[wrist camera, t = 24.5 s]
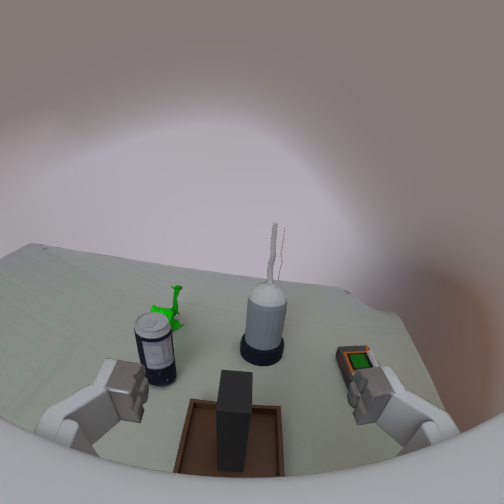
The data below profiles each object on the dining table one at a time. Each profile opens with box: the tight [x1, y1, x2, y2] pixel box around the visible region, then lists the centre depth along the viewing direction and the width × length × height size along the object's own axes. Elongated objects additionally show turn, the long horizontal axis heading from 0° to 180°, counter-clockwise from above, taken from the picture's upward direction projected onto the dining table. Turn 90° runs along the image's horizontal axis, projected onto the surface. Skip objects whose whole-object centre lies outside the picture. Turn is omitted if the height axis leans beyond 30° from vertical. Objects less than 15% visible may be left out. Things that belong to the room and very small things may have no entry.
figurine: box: [151, 285, 183, 332], centre depth 55 cm, size 6×12×9 cm, turn 159°
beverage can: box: [134, 312, 176, 386], centre depth 41 cm, size 6×6×12 cm
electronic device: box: [336, 346, 380, 389], centre depth 45 cm, size 7×3×15 cm
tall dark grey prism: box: [216, 370, 253, 472], centre depth 28 cm, size 3×6×14 cm, turn 179°
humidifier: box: [240, 223, 287, 366], centre depth 48 cm, size 8×8×25 cm
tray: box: [173, 399, 284, 478], centre depth 30 cm, size 17×13×2 cm
